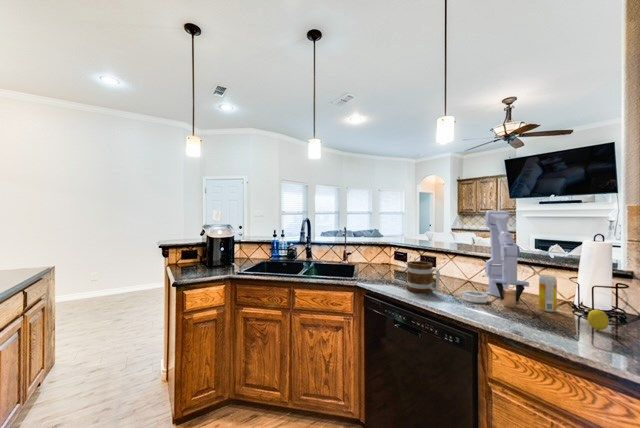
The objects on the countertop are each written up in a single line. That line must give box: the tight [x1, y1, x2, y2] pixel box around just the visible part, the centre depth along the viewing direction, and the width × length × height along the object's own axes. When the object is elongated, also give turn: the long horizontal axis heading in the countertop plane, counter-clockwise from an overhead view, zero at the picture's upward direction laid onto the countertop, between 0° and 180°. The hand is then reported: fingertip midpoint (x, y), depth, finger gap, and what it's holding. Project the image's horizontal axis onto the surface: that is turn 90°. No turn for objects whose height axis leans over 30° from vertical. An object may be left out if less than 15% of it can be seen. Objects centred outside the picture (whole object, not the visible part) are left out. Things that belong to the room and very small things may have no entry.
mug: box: [406, 260, 441, 295], centre depth 154 cm, size 20×14×15 cm
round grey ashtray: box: [461, 289, 489, 304], centre depth 140 cm, size 11×11×3 cm
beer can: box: [538, 274, 558, 313], centre depth 125 cm, size 6×6×15 cm
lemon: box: [587, 308, 610, 332], centre depth 103 cm, size 6×6×8 cm
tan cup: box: [502, 288, 517, 308], centre depth 131 cm, size 6×6×7 cm
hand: (509, 300), depth 131 cm, fingers closed on tan cup, 5 cm apart
